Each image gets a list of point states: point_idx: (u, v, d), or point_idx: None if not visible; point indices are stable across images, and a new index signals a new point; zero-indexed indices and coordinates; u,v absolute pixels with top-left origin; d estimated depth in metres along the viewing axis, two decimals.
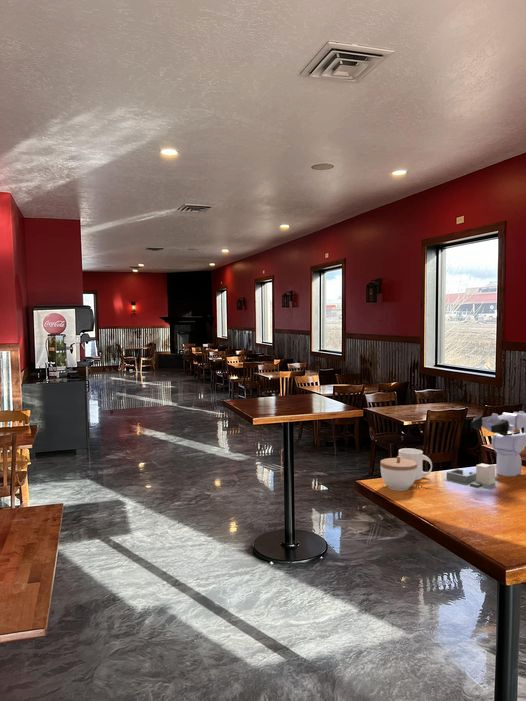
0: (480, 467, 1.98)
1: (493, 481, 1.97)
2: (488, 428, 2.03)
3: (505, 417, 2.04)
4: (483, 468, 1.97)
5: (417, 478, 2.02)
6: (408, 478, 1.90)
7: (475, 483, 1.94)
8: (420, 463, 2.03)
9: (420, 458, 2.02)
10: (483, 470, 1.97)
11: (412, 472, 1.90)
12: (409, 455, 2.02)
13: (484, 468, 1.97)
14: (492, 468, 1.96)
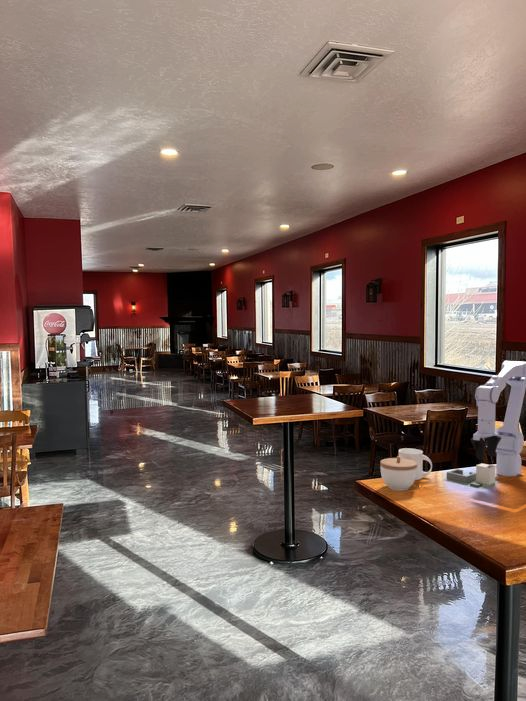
0: (480, 467, 1.98)
1: (493, 481, 1.97)
2: None
3: (488, 419, 1.95)
4: (483, 468, 1.97)
5: (417, 478, 2.02)
6: (408, 478, 1.90)
7: (475, 483, 1.94)
8: (420, 463, 2.03)
9: (420, 458, 2.02)
10: (483, 470, 1.97)
11: (412, 472, 1.90)
12: (409, 455, 2.02)
13: (484, 468, 1.97)
14: (492, 468, 1.96)
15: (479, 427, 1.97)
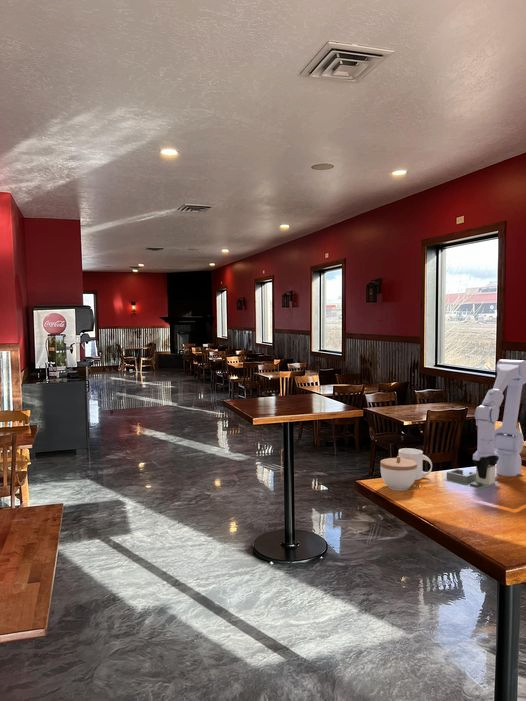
0: None
1: (493, 481, 1.97)
2: None
3: (487, 439, 1.95)
4: None
5: (417, 478, 2.02)
6: (408, 478, 1.90)
7: (475, 483, 1.94)
8: (420, 463, 2.03)
9: (420, 458, 2.02)
10: None
11: (412, 472, 1.90)
12: (409, 455, 2.02)
13: None
14: (492, 468, 1.96)
15: (479, 446, 1.97)
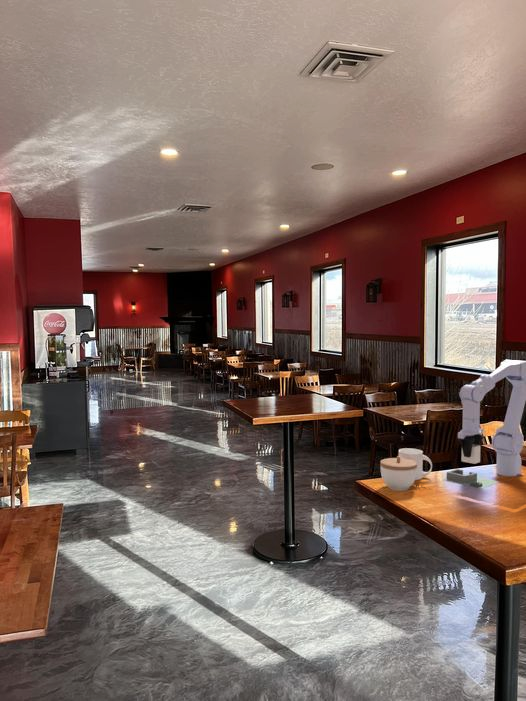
0: None
1: (478, 460, 1.99)
2: None
3: (470, 418, 1.97)
4: None
5: (417, 478, 2.02)
6: (408, 478, 1.90)
7: (475, 483, 1.94)
8: (420, 463, 2.03)
9: (420, 458, 2.02)
10: None
11: (412, 472, 1.90)
12: (409, 455, 2.02)
13: None
14: (477, 447, 1.98)
15: (464, 425, 1.99)
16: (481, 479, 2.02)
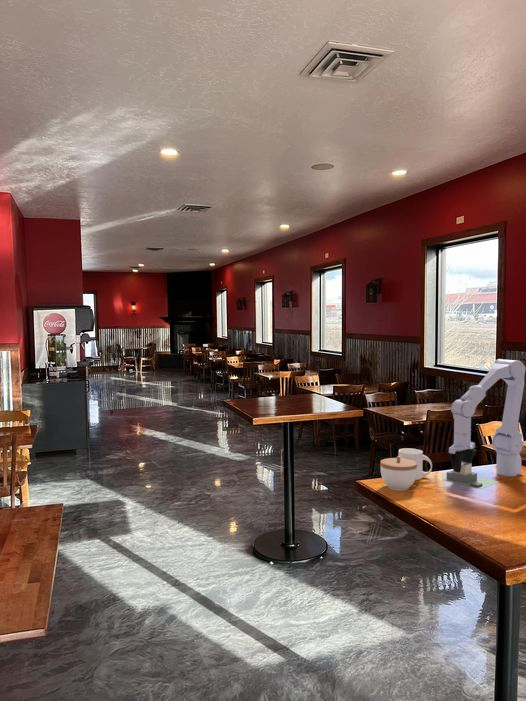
0: None
1: None
2: None
3: (460, 433, 1.99)
4: None
5: (417, 478, 2.02)
6: (408, 478, 1.90)
7: (475, 483, 1.94)
8: (420, 463, 2.03)
9: (420, 458, 2.02)
10: None
11: (412, 472, 1.90)
12: (409, 455, 2.02)
13: None
14: (468, 465, 2.00)
15: (455, 440, 2.01)
16: (481, 479, 2.02)
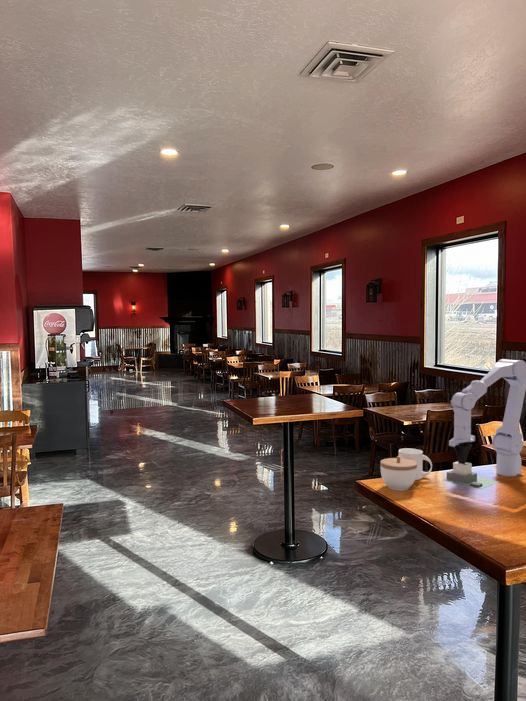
0: (457, 464, 2.01)
1: None
2: None
3: (460, 425, 1.99)
4: (459, 465, 2.00)
5: (417, 478, 2.02)
6: (408, 478, 1.90)
7: (475, 483, 1.94)
8: (420, 463, 2.03)
9: (420, 458, 2.02)
10: (460, 468, 2.00)
11: (412, 472, 1.90)
12: (409, 455, 2.02)
13: (460, 465, 2.00)
14: (468, 465, 2.00)
15: (455, 433, 2.01)
16: (481, 479, 2.02)
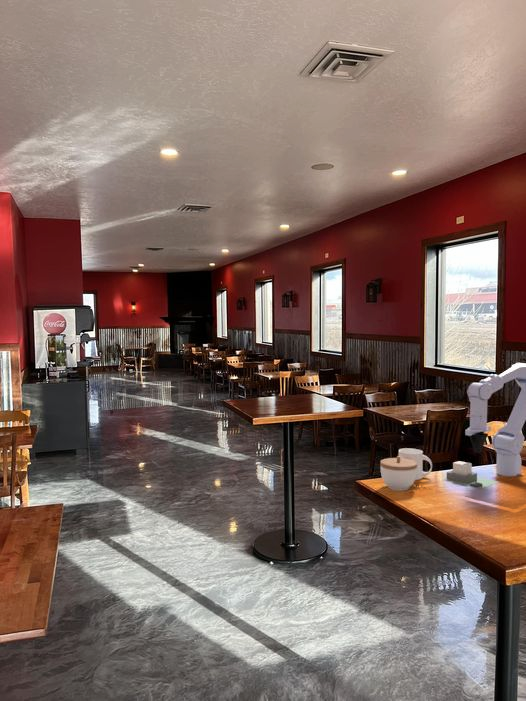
0: (457, 464, 2.01)
1: None
2: None
3: (477, 415, 2.00)
4: (459, 465, 2.00)
5: (417, 478, 2.02)
6: (408, 478, 1.90)
7: (475, 483, 1.94)
8: (420, 463, 2.03)
9: (420, 458, 2.02)
10: (460, 468, 2.00)
11: (412, 472, 1.90)
12: (409, 455, 2.02)
13: (460, 465, 2.00)
14: (468, 465, 2.00)
15: (471, 422, 2.02)
16: (481, 479, 2.02)
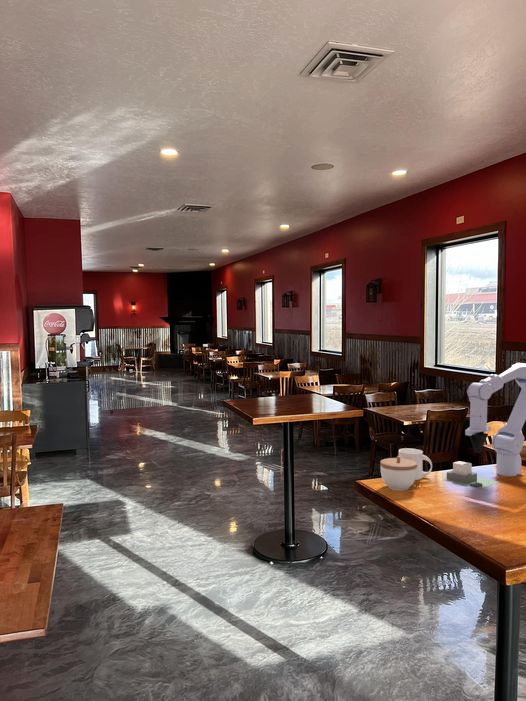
0: (457, 464, 2.01)
1: None
2: None
3: (477, 415, 2.00)
4: (459, 465, 2.00)
5: (417, 478, 2.02)
6: (408, 478, 1.90)
7: (475, 483, 1.94)
8: (420, 463, 2.03)
9: (420, 458, 2.02)
10: (460, 468, 2.00)
11: (412, 472, 1.90)
12: (409, 455, 2.02)
13: (460, 465, 2.00)
14: (468, 465, 2.00)
15: (471, 422, 2.02)
16: (481, 479, 2.02)
